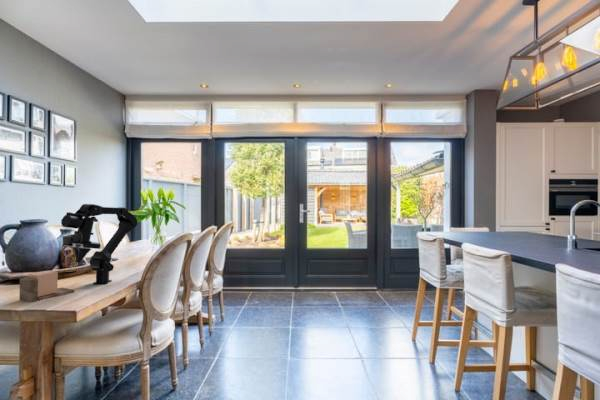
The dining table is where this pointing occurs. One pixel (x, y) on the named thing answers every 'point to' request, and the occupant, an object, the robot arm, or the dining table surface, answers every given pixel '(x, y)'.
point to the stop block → (31, 290)
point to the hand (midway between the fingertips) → (77, 262)
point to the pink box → (46, 282)
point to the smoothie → (69, 257)
